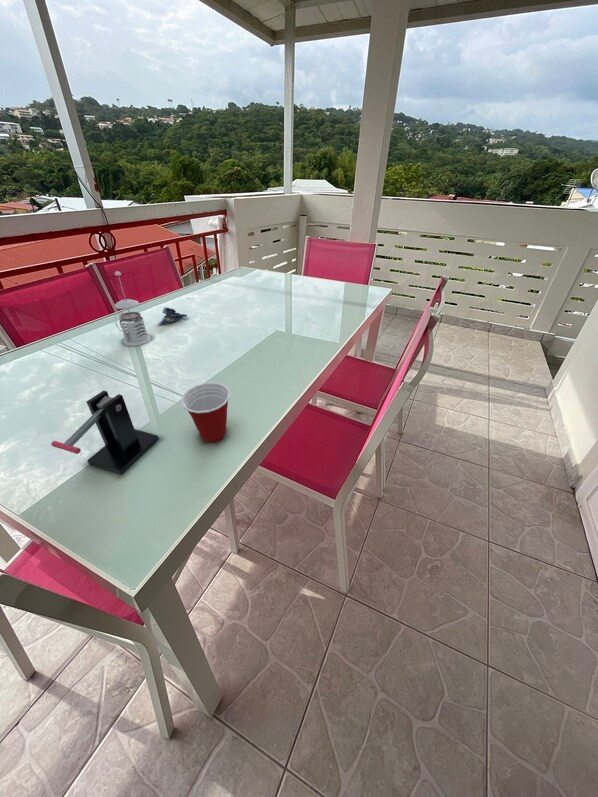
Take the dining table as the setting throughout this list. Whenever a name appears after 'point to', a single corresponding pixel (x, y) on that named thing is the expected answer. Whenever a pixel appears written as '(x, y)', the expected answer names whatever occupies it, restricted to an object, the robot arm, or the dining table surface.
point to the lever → (82, 429)
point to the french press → (131, 336)
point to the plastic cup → (208, 409)
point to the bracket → (118, 436)
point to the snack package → (171, 315)
